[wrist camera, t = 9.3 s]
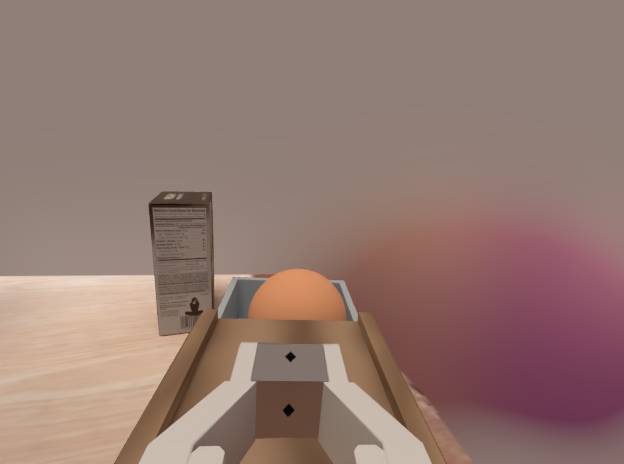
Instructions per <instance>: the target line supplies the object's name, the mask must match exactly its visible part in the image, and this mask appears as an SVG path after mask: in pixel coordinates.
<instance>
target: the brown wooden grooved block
mask: <svg viewBox="0 0 624 464" xmlns="http://www.w3.org/2000/svg"><path fill="white" fill-rule="evenodd" d="M241 342H257V343H258V342H263V343H286V344H339V345H340V349H341V353H342V357H343V361H344V364H345V368H346V372H347V376H348V380H349V382H354V383H355V384H356V385H357V386H359V387H360V388H361V389H362V390H363V391H364V392H365V393H366V394H368V395H369V396H370V397H371V398H372V399H373V400H374V401H376V402H377V403H378V404H379V405H380V406H381V407H382V408H383V409H385V410H386V411H387V412H388V413H389V414H390V415H391V416H392V417H394V418H395V419H396V420H397V421H398V422H399V423H400V424H402V425H403V426H404V427H405V428H406V429H407V430H408V431H409V432H411V433H412V434H413V435H414V436H415V437H416V438H417V439H418V440H420V441H421V442H422V443H423V445H424V447H425V450H426V452H427V454H428V456H429V458H430V461H431V463H432V464H447V463H446V461H445V459H444V457H443V455H442V453H441V451H440V449H439V447H438V445H437V443H436V441H435V439H434V437H433V435H432V433H431V431H430V429H429V427H428V425H427V423H426V421H425V419H424V417H423V415H422V413H421V411H420V409H419V407H418V405H417V403H416V401H415V399H414V397H413V395H412V393H411V391H410V389H409V387H408V385H407V383H406V381H405V379H404V377H403V375H402V373H401V371H400V369H399V367H398V365H397V363H396V361H395V359H394V357H393V355H392V353H391V351H390V349H389V347H388V345H387V343H386V341H385V339H384V337H383V335H382V333H381V331H380V329H379V328H378V325H377V323H376V322H375V320H374V318H373V316H372V314H371V313H365V312H364V313H363V312H359V313H358V321H322V320H274V319H226V318H218V309H204V311H203V312H202V314H201V316H200V318H198V319H197V321H196V323H195V324H194V326H193V328H192V329H191V331H190V333H189V335H188V336H187V338H186V340H185V342H184V343H183V345H182V347H181V348H180V350H179V352H178V354H177V355H176V357H175V359H174V361H173V362H172V364H171V366H170V368H169V369H168V371H167V373H166V374H165V376H164V378H163V380H162V381H161V383H160V385H159V387H158V388H157V390H156V392H155V393H154V395H153V397H152V399H151V400H150V402H149V404H148V406H147V407H146V409H145V411H144V412H143V414H142V416H141V418H140V419H139V421H138V423H137V425H136V426H135V428H134V430H133V431H132V433H131V435H130V437H129V438H128V440H127V442H126V444H125V445H124V447H123V449H122V450H121V452H120V454H119V456H118V457H117V459H116V461H115V463H114V464H139V462H140V460H141V458H142V456H143V454H144V452H145V450H146V448H147V446H148V444H149V443H151V442H152V441H153V440H154V439H155V438H157V437H158V436H159V435H160V434H161V433H163V432H164V431H165V430H166V429H167V428H169V427H170V426H171V425H172V424H174V423H175V422H176V421H177V420H178V419H180V418H181V417H182V416H183V415H184V414H186V413H187V412H188V411H189V410H190V409H192V408H193V407H194V406H195V405H196V404H198V403H199V402H200V401H201V400H202V399H204V398H205V397H206V396H207V395H208V394H210V393H211V392H212V391H213V390H214V389H216V388H217V387H218V386H219V385H220V384H222V383H223V382H224V381H230V378H231V375H232V371H233V367H234V364H235V360H236V356H237V353H238V349H239V345H240V344H241ZM239 464H333V463H332V461H331V460H330V458H329V457H328V455H327V454H326V452H325V450H324V449H323V447H322V446H321V444H320V443H319V441H318V438H263V439H255V442H254V443H253V445H252V446H251V447H250V449H249V450H248V452H247V453H246V455H245V456H244V457H243V459H242V460H241V462H240V463H239Z"/></svg>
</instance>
